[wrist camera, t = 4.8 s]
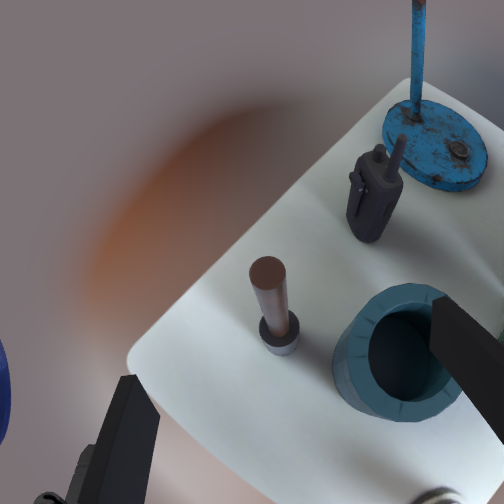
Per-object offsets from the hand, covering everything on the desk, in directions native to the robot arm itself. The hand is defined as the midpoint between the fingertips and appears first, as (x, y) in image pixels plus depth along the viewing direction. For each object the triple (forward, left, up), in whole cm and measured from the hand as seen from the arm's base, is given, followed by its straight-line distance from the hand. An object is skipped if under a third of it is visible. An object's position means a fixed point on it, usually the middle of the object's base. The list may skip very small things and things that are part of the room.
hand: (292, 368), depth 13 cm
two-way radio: (+17, +6, -18) cm, 25 cm away
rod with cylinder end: (+2, +4, -18) cm, 18 cm away
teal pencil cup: (+7, -5, -18) cm, 20 cm away
